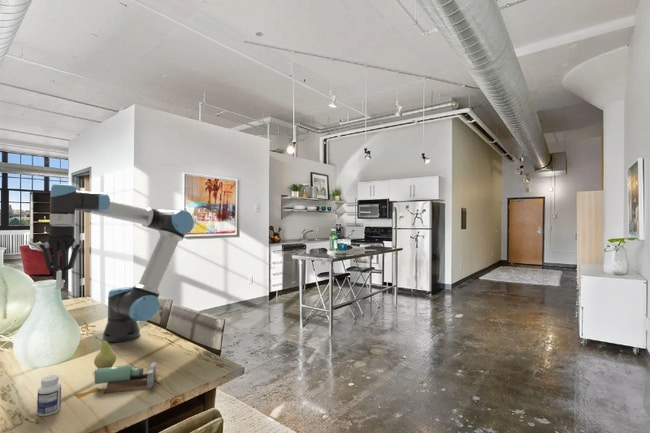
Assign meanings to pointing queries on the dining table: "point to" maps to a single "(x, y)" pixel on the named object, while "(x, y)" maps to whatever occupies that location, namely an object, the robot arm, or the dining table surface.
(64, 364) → the dining table surface
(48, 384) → the pill bottle
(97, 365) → the fruit
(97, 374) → the bottle
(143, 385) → the cradle
